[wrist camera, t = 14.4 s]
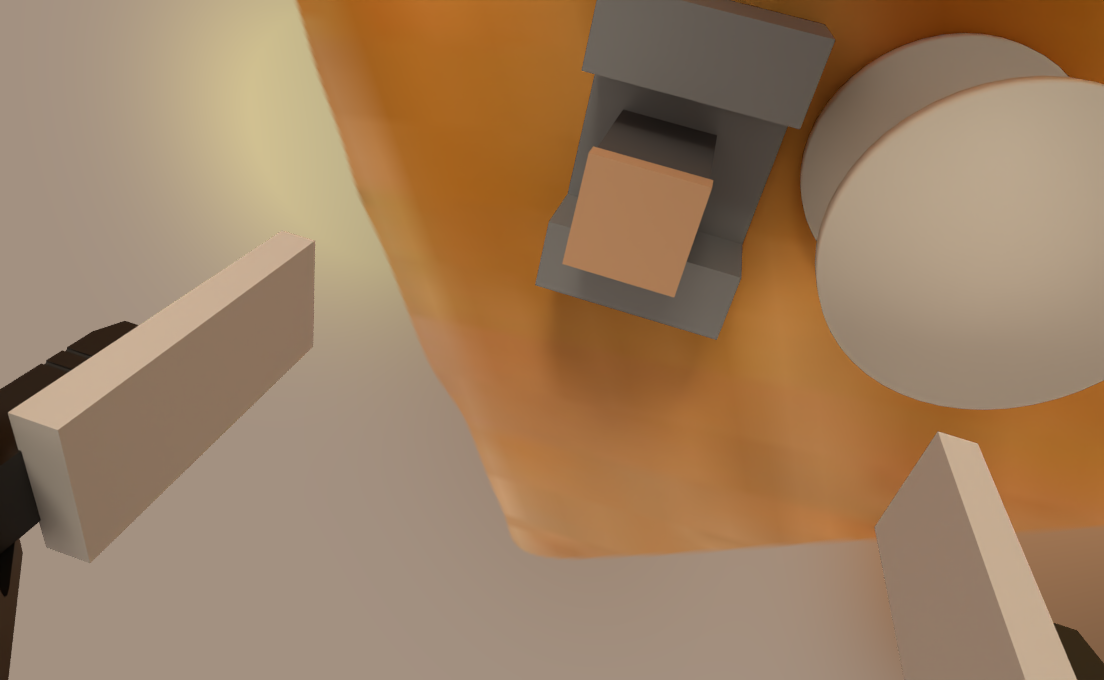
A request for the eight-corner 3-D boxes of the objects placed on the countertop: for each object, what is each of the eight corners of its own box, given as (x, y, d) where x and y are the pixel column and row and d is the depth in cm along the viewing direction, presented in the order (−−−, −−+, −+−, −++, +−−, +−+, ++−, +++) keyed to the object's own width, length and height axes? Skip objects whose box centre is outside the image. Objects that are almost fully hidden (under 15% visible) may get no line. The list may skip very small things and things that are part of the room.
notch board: (620, -28, 27) (601, -21, 24) (824, 24, 27) (835, 39, 23) (557, 248, 34) (535, 285, 30) (720, 296, 33) (716, 339, 30)
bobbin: (862, 2, 26) (911, 38, 18) (1143, 72, 25) (1325, 143, 17) (764, 245, 31) (768, 355, 24) (992, 310, 30) (1077, 448, 23)
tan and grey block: (621, 106, 29) (588, 152, 23) (720, 133, 29) (712, 187, 23) (597, 200, 32) (562, 263, 26) (689, 226, 31) (674, 297, 25)
